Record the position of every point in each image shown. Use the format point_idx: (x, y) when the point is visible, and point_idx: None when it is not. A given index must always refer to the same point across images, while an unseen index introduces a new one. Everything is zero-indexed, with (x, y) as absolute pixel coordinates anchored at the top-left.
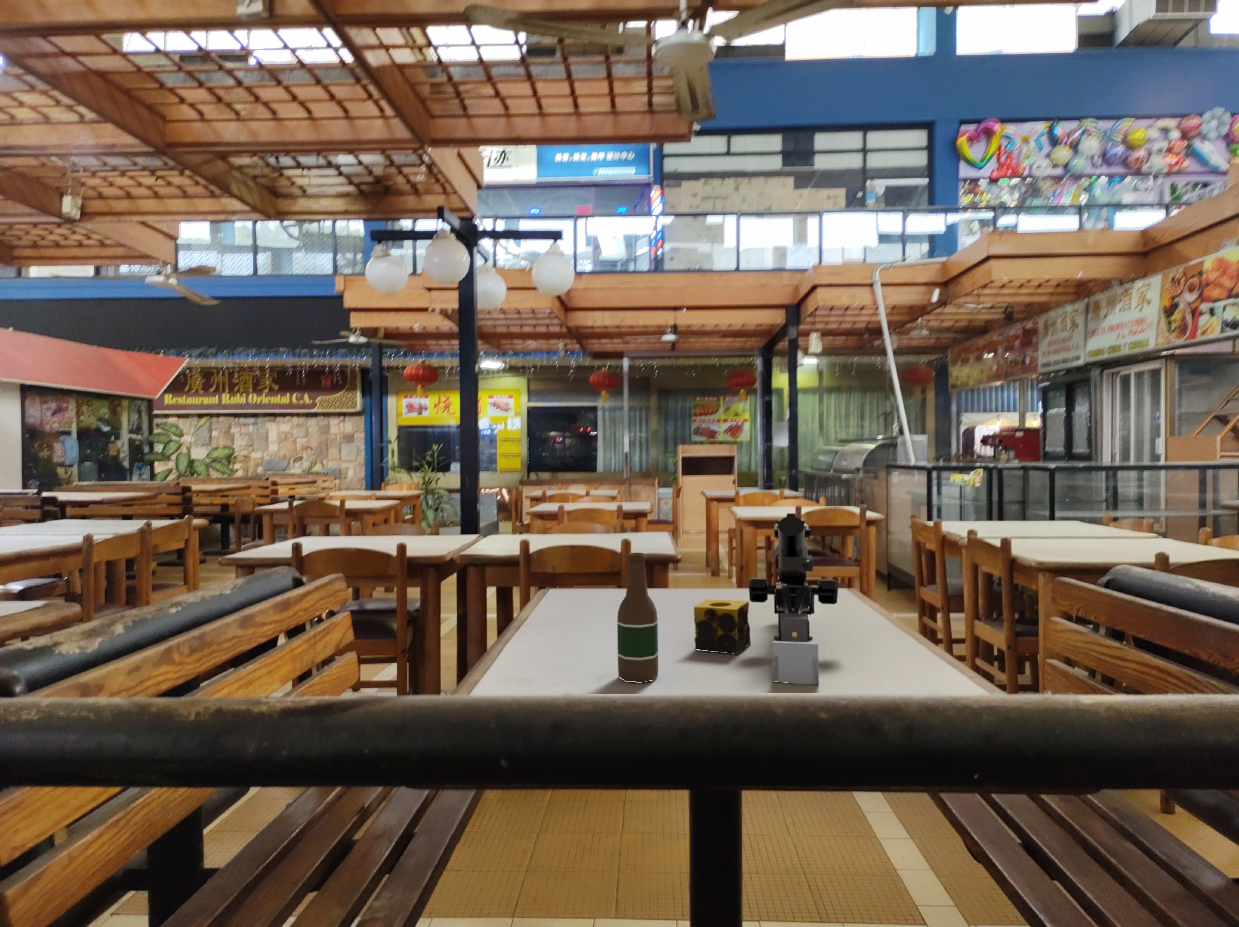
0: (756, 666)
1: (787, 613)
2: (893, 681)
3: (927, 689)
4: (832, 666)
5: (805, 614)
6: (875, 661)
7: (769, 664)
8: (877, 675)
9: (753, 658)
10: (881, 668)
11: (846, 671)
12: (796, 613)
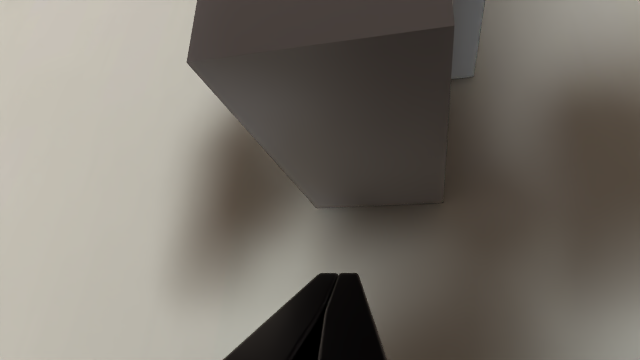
0: (570, 99)
1: (379, 16)
2: (71, 52)
3: (20, 10)
4: (215, 180)
5: (201, 26)
6: (27, 298)
7: (506, 149)
8: (92, 101)
9: (630, 255)
10: (47, 192)
11: (178, 122)
12: (282, 44)
